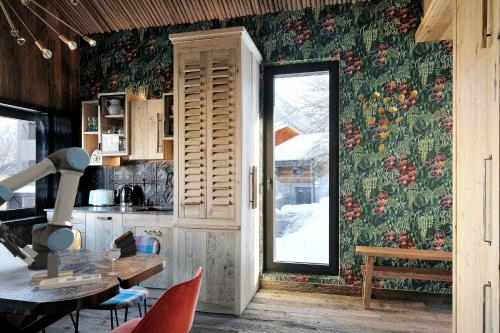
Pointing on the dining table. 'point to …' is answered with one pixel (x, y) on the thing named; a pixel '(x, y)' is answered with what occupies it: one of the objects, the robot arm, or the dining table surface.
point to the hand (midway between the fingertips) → (33, 259)
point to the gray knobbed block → (53, 265)
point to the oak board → (43, 276)
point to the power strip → (69, 281)
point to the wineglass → (113, 257)
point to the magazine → (126, 244)
